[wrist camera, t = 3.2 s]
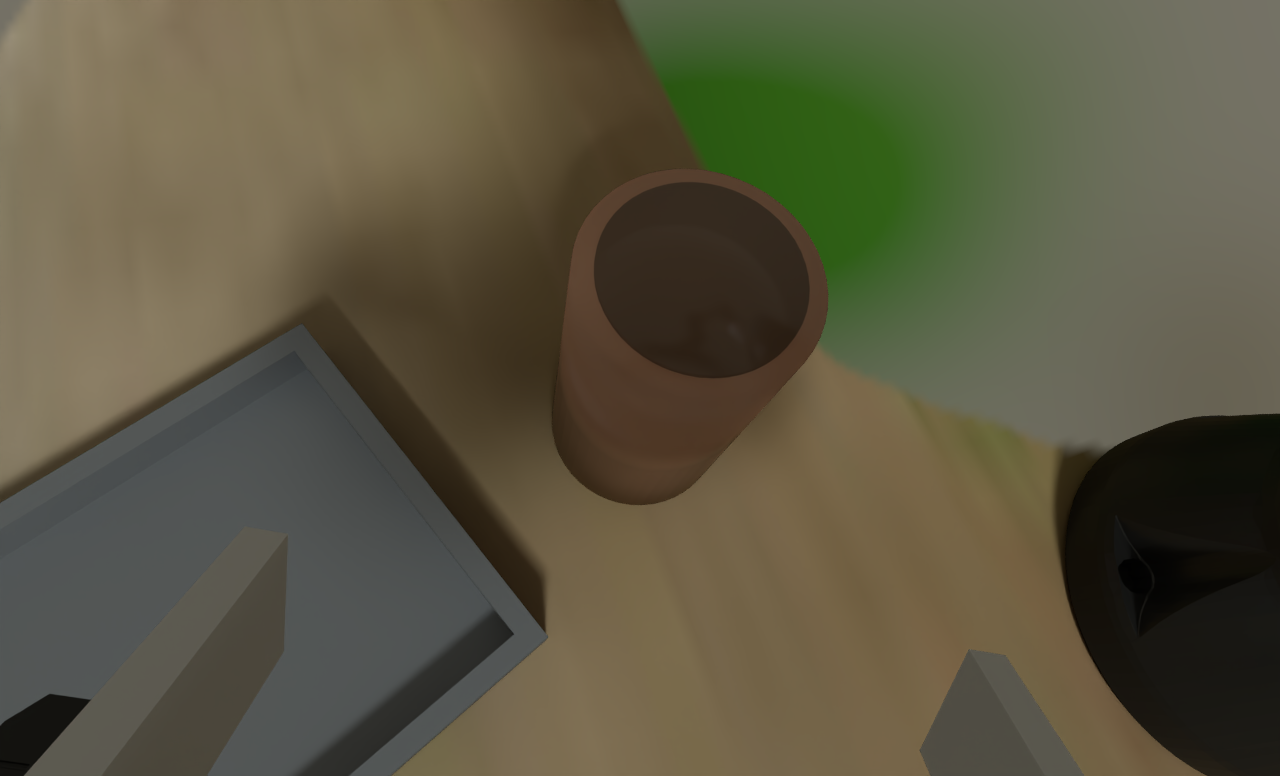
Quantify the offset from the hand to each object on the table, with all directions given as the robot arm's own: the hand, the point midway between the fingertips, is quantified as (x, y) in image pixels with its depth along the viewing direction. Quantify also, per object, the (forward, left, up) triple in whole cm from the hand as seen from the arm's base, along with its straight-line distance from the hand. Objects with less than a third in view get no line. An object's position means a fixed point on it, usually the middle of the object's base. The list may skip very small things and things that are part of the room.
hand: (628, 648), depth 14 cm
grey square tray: (+9, +9, -14) cm, 19 cm away
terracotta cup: (+6, -8, -14) cm, 17 cm away
